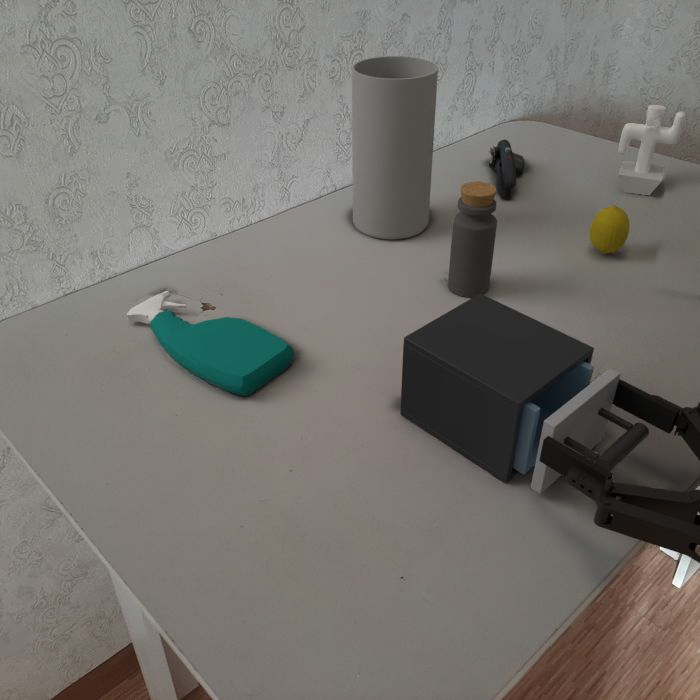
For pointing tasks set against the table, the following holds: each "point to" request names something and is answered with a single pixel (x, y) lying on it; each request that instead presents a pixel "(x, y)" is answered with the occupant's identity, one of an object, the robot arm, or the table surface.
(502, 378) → the drawer cabinet
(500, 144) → the can opener
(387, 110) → the cylinder vase
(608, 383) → the compartment
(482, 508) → the table surface
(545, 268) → the table surface
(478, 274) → the bottle
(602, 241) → the lemon
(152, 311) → the spray bottle
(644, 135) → the figurine
